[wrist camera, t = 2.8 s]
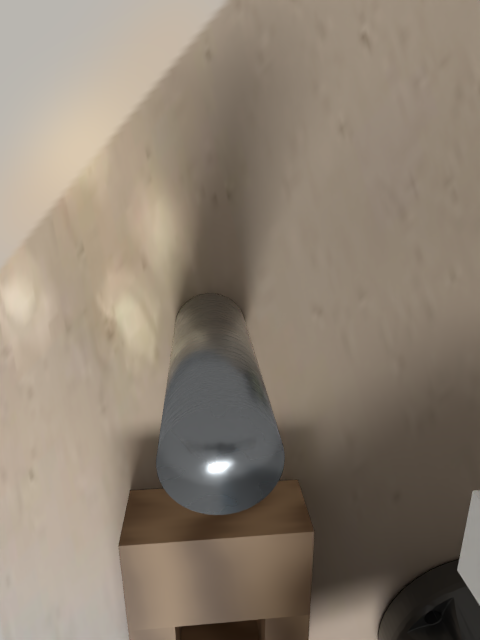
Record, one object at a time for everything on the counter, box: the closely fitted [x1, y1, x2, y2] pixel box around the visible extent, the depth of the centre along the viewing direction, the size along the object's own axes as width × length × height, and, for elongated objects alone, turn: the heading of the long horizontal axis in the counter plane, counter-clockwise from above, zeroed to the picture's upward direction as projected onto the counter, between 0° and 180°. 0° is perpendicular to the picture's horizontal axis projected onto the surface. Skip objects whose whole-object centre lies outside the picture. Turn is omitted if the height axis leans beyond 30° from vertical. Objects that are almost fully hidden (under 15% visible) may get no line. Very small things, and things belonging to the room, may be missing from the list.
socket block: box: [118, 480, 314, 640], centre depth 34 cm, size 12×20×5 cm, turn 0°
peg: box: [156, 293, 285, 515], centre depth 22 cm, size 4×4×14 cm
